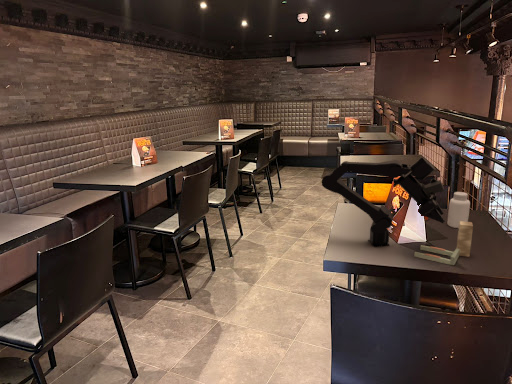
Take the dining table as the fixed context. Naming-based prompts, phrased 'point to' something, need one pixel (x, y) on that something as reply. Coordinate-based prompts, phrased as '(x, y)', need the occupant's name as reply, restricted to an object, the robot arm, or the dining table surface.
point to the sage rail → (451, 261)
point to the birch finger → (464, 238)
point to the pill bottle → (458, 209)
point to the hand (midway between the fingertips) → (443, 218)
